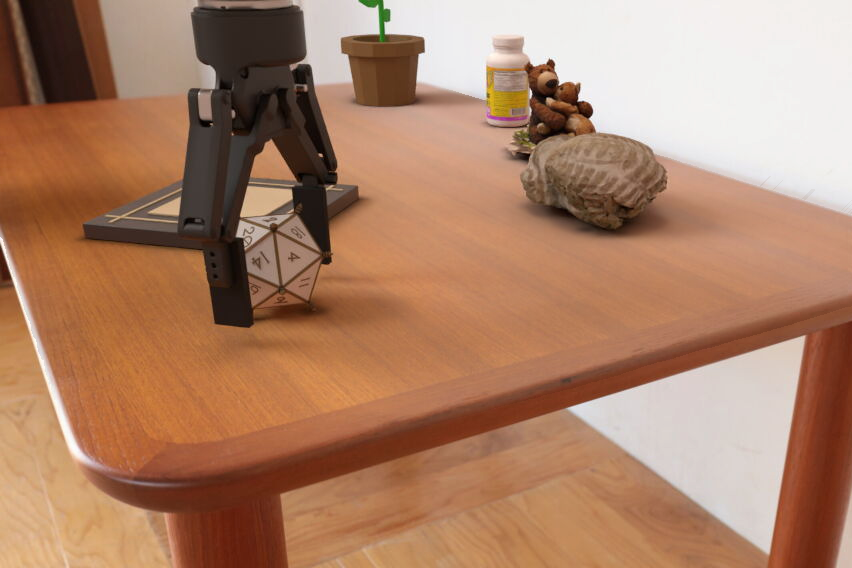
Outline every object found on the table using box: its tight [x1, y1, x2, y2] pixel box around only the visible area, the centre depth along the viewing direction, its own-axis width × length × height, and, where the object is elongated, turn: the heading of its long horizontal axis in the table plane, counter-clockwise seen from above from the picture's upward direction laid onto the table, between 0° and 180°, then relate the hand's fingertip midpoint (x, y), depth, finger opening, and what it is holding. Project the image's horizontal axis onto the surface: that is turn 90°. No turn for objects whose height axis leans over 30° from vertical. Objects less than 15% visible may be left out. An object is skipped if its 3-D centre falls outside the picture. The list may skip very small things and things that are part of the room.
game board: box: [82, 176, 360, 250], centre depth 93 cm, size 20×20×2 cm
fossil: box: [519, 132, 669, 231], centre depth 94 cm, size 18×13×10 cm
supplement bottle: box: [485, 34, 531, 128], centre depth 135 cm, size 7×7×13 cm
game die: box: [235, 204, 334, 313], centre depth 69 cm, size 9×8×10 cm
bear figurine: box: [505, 57, 597, 157], centre depth 116 cm, size 14×15×12 cm
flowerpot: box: [340, 0, 426, 107], centre depth 148 cm, size 14×14×30 cm
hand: (278, 291), depth 70 cm, fingers open, 13 cm apart
